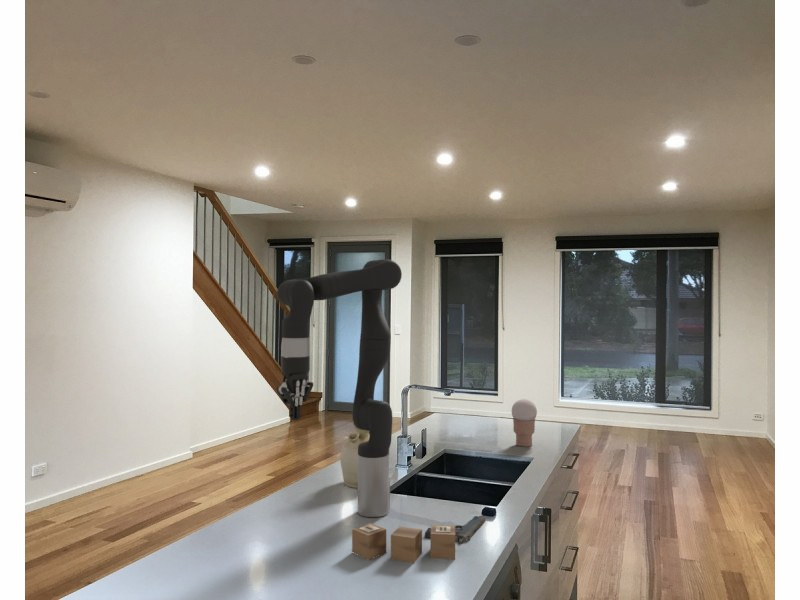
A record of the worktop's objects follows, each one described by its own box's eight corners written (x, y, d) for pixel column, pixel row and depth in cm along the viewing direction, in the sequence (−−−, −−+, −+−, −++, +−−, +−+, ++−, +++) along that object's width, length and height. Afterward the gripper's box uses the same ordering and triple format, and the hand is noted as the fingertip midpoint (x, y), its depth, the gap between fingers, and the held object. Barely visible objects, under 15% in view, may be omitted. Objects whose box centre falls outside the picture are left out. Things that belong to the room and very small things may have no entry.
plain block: (399, 550, 154) (399, 526, 154) (421, 553, 152) (422, 529, 152) (390, 559, 148) (390, 534, 148) (414, 563, 146) (414, 538, 146)
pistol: (447, 516, 179) (486, 523, 174) (422, 539, 162) (465, 547, 157) (447, 509, 179) (486, 515, 174) (422, 531, 162) (465, 539, 157)
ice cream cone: (540, 444, 269) (540, 398, 269) (531, 449, 260) (531, 402, 260) (517, 441, 275) (517, 396, 275) (507, 445, 266) (507, 399, 266)
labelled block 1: (370, 546, 156) (370, 522, 156) (386, 553, 152) (386, 528, 152) (352, 553, 152) (352, 528, 152) (368, 560, 148) (368, 534, 148)
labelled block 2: (431, 548, 155) (431, 524, 155) (455, 549, 155) (455, 524, 155) (430, 558, 149) (430, 532, 149) (455, 559, 149) (455, 533, 149)
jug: (358, 493, 199) (358, 416, 200) (331, 482, 211) (331, 410, 211) (393, 484, 209) (394, 411, 210) (366, 474, 221) (366, 405, 221)
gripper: (300, 352, 171) (300, 414, 171) (267, 355, 159) (267, 422, 159) (322, 353, 167) (321, 417, 167) (289, 357, 155) (289, 425, 155)
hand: (295, 419), depth 163 cm, fingers closed
